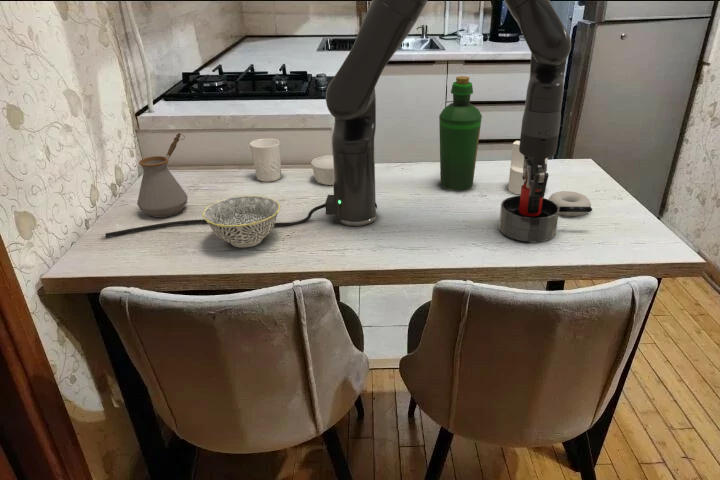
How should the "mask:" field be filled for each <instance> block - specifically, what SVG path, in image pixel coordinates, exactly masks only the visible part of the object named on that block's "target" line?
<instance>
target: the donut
mask: <svg viewBox="0 0 720 480" xmlns="http://www.w3.org/2000/svg"><path fill="white" fill-rule="evenodd" d="M548 200H550V201H553V202H554V203H556V204H557V205H558V207H560V206H561V207H591V208H592V204H591V201H590V198H588V196H586V195H584V194H582V193H579V192H576V191H572V190H571V191H570V190H562V191H556V192H554V193H552V194H551V195H550V196H549V197H548ZM587 213H588V212H559V215H561V216H567V217H578V216H579V217H580V216H583V215H585V214H587Z"/></svg>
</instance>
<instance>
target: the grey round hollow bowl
mask: <svg viewBox="0 0 720 480" xmlns="http://www.w3.org/2000/svg"><path fill="white" fill-rule="evenodd" d="M548 199H549V198H548ZM548 199H547V198H546V197H544V198H543V201H542V209H541V214H540V215H538V216H525V215H522V214H520V213H519V203H520V195H513V196H509V197H507V198H505V199H503V200H502V201H501V203H500V210H499V220H498V229H499V231H500V232H501V233H502V234H503V235H504V236H506V237H508V238H510V239H513V240H515V241H521V242H526V243H527V242H528V243H535V242H536V243H537V242H544V241H547V240H550V239H552V238H553V237H554V236H555V235H556V232H557V228H558V221H559V215H560V214H559V207H558V205H557V204H556V203H554V202H553V201H550V200H548Z"/></svg>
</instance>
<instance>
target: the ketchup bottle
mask: <svg viewBox="0 0 720 480" xmlns="http://www.w3.org/2000/svg"><path fill="white" fill-rule="evenodd" d="M531 181H532V182H534V180H531ZM536 191H539V189H536ZM519 196H520V203H519V213H520V214H522V215H525V216H538V215H540V214H541V209H542V201H543V198H540V202H539V210H538V212H537V213H528V211H527V209H528V201H529V186H528V185H527V184H523V185H522V186H521V195H519Z"/></svg>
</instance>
